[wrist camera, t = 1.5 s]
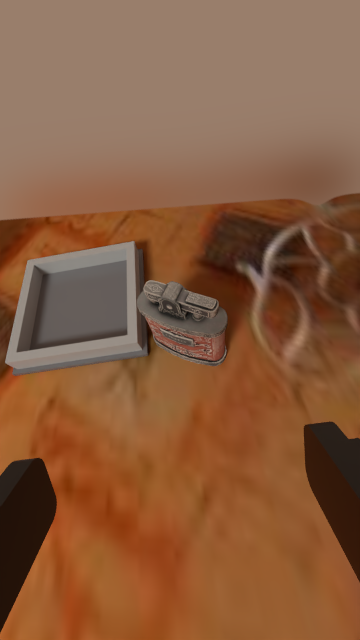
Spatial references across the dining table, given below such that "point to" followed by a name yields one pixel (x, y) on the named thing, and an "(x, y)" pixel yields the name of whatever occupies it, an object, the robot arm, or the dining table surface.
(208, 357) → the lighter
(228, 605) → the dining table surface
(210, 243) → the dining table surface
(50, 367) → the tray
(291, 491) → the dining table surface
